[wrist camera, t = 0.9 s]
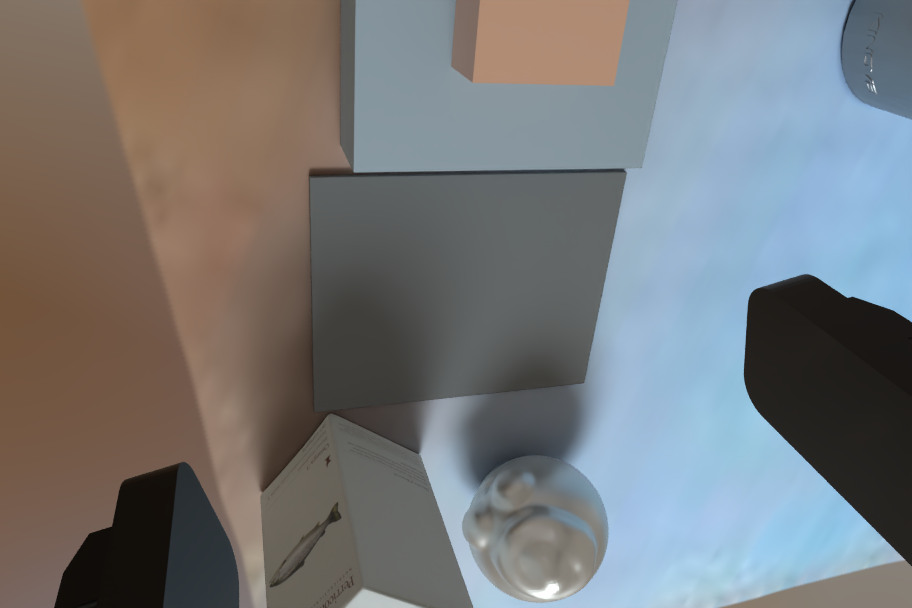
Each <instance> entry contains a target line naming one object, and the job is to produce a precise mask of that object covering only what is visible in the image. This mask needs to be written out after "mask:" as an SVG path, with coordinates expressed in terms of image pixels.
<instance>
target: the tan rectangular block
mask: <svg viewBox="0 0 912 608" xmlns="http://www.w3.org/2000/svg"><path fill="white" fill-rule="evenodd" d="M629 1H630V0H456V8H455V22H454V35H453V48H452V62H451V67H452V68H454V69H455V70H456V71H458V72H459V73H460V74H462V75H463V76H464V77H466V78H467V79H468V80H470V81H471V82H472V83H503V84H550V85H596V86H614V83H615V78H616V72H617V67H618V61H619V56H620V50H621V45H622V40H623V34H624V29H625V23H626V18H627V12H628V7H629Z"/></svg>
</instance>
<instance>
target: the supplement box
mask: <svg viewBox="0 0 912 608" xmlns="http://www.w3.org/2000/svg"><path fill="white" fill-rule="evenodd" d="M260 498H261V517H262V534H263V551H264V568H265V584H266V601H267V608H473V605H472V602H471V600H470V597H469V594H468V591H467V588H466V585H465V582H464V579H463V577H462V574H461V571H460V568H459V565H458V562H457V559H456V557H455V554H454V551H453V548H452V545H451V542H450V539H449V536H448V533H447V531H446V528H445V525H444V522H443V519H442V516H441V513H440V510H439V508H438V505H437V502H436V499H435V496H434V493H433V490H432V487H431V484H430V482H429V479H428V476H427V473H426V470H425V467H424V464H423V461H422V458H421V456H420V455H418V454H417V453H415V452H413V451H410V450H409V449H407V448H404V447H402V446H400V445H398V444H396V443H394V442H392V441H390V440H388V439H386V438H384V437H381V436H379V435H377V434H375V433H373V432H371V431H369V430H367V429H365V428H363V427H361V426H359V425H357V424H354V423H352V422H350V421H348V420H346V419H344V418H342V417H339V416H337V415H334V414H332V413H330V414H329V415H327V417H326V418H325V419H324V421H323V422H322V423H321V425H320V426H319V427H318V429H317V430H316V431H315V433H314V434H313V435H312V436H311V438H310V439H309V440H308V441H307V443H306V444H305V445H304V446H303V448H302V449H301V450H300V451H299V452H298V453H297V455H296V456H295V457H294V458H293V459H292V460H291V461H290V463H289V464H288V465H287V466H286V467H285V468H284V470H283V471H282V472H281V473H280V474H279V475H278V477H277V478H276V479H275V480H274V481H273V482H272V483H271V484H270V485H269V486H268V488H267V489H266V490H265V491H264V492H263V493H262V494H261V497H260Z"/></svg>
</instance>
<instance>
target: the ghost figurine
mask: <svg viewBox="0 0 912 608" xmlns="http://www.w3.org/2000/svg"><path fill="white" fill-rule="evenodd" d="M462 531H463V535H464V537H465V539H466V541H467V542H468V543H469V546H470V550H471V553H472V555H473V558H474V560H475V562H476V564H477V566H478V567H479V569H480V570H481V572H482V573H483V574H484V576H485V577H486V578H487V579H488V580H489V581H490V582H491V583H492V584H493V585H494V586H495V587H497V588H498V589H499V590H501V591H502V592H504V593H506V594H507V595H509V596H511V597H514V598H516V599H519V600H523V601H527V602H535V603H546V602H553V601H557V600H561V599H564V598H566V597H569V596H571V595H573V594H575V593H577V592H578V591H580V590H581V589H582V588H584V587H585V586H586V585H587V584H588V582H589V581H590V580H591V579H592V578H593V576H594V575H595V574H596V572H597V570H598V569H599V567H600V565H601V563H602V561H603V558H604V556H605V552H606V549H607V543H608V520H607V514H606V510H605V507H604V504H603V502H602V499H601V497H600V495H599V494H598V492H597V490H596V489H595V487H594V486H593V484H592V483H591V482H590V481H589V480H588V478H587V477H586V476H585V475H584V474H582V473H581V472H580V471H579V470H578V469H576V468H575V467H573V466H572V465H570V464H568V463H566V462H564V461H562V460H559V459H556V458H553V457H548V456H541V455H530V456H523V457H519V458H515V459H513V460H510V461H507V462H505V463H503V464H501V465H500V466H498V467H497V468H495V469H494V470H493V471H492V472H490V473H489V474H488V475H487V476H486V478H485V479H484V480H483V482H482V483H481V485H480V486H479V488H478V490H477V491H476V493H475V495H474V497H473V500H472V502H471V505H470V508H469V509H468V511H467V512H466V513H465V515H464V518H463V522H462Z"/></svg>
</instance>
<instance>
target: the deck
mask: <svg viewBox="0 0 912 608" xmlns="http://www.w3.org/2000/svg"><path fill="white" fill-rule="evenodd" d="M677 1H678V0H630V1H629V7H628V12H627V18H626V23H625V29H624V34H623V40H622V45H621V50H620V56H619V61H618V67H617V72H616V78H615V83H614V86H596V85H550V84H503V83H472V82H471V81H470V80H468V79H467V78H466V77H464V76H463V75H462V74H460V73H459V72H458V71H456V70H455V69H454V68H452V67H451V62H452V48H453V35H454V22H455V8H456V0H341V119H340V145H341V147H342V149H343V151H344V153H345V155H346V157H347V159H348V162H349V164H350V166H351V168H352V170H353V172H416V171H483V170H550V169H616V168H642V165H643V160H644V156H645V151H646V146H647V141H648V137H649V132H650V127H651V123H652V118H653V113H654V109H655V104H656V99H657V95H658V90H659V85H660V81H661V76H662V71H663V66H664V62H665V57H666V52H667V48H668V43H669V38H670V34H671V29H672V24H673V20H674V15H675V10H676V6H677Z"/></svg>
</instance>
